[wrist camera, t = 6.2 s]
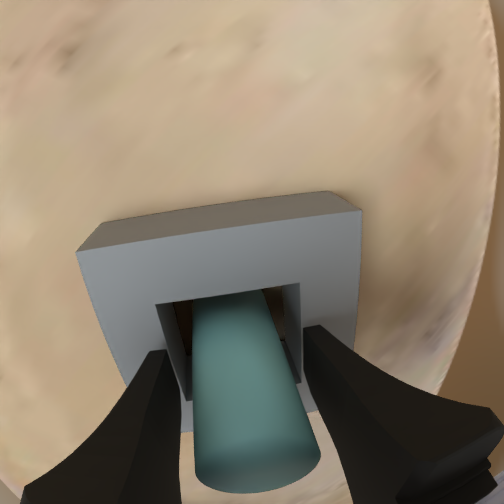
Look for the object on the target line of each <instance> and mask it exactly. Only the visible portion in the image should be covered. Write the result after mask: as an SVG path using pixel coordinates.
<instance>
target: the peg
mask: <svg viewBox="0 0 504 504" xmlns="http://www.w3.org/2000/svg"><path fill="white" fill-rule="evenodd" d="M192 393H193V433H194V457H195V474H196V477H197V478H198V480H199V481H200V482H201V483H203V484H204V485H206V486H208V487H210V488H212V489H215V490H219V491H223V492H228V493H258V492H265V491H270V490H274V489H278V488H281V487H284V486H286V485H289V484H291V483H294V482H296V481H298V480H299V479H301V478H303V477H304V476H306V475H307V474H308V473H310V472H311V471H312V470H313V469H314V468H315V467H316V465H317V464H318V462H319V460H320V457H321V453H320V449H319V446H318V444H317V441H316V438H315V435H314V433H313V430H312V427H311V424H310V422H309V419H308V416H307V413H306V410H305V408H304V405H303V402H302V399H301V397H300V394H299V391H298V388H297V386H296V383H295V380H294V377H293V375H292V372H291V369H290V366H289V363H288V361H287V358H286V355H285V352H284V350H283V347H282V344H281V341H280V339H279V336H278V333H277V330H276V327H275V325H274V322H273V319H272V316H271V313H270V311H269V308H268V305H267V302H266V300H265V297H264V294H263V292H262V290H261V289H257V290H250V291H244V292H238V293H231V294H224V295H218V296H211V297H204V298H197V299H194V301H193V320H192Z"/></svg>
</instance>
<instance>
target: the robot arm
mask: <svg viewBox="0 0 504 504" xmlns="http://www.w3.org/2000/svg"><path fill="white" fill-rule="evenodd" d="M303 371H304V374H305V377H306V380H307V384H308V387H309V390H310V393H311V395H312V397H313V400H314V402H315V404H316V406H317V408H318V410H319V412H320V415H321V417H322V419H323V421H324V423H325V425H326V427H327V429H328V431H329V433H330V436H331V438H332V440H333V442H334V445H335V447H336V449H337V452H338V455H339V458H340V461H341V464H342V467H343V470H344V473H345V477H346V480H347V483H348V486H349V490H350V493H351V497H352V500H353V504H504V470H503V471H502V472H501V473H499V474H498V475H497V476H495V477H494V478H493V476H492V475H491V473H490V472H489V470H488V469H489V468H490V467H491V463H490V462H489V460H488V459H487V457H488V456H489V455H490V454H491V452H492V451H493V450H494V448H495V447H496V446H497V444H498V443H499V442H500V440H501V439H502V437H503V435H504V425H503V424H502V423H501V421H500V420H499V419H498V418H497V416H496V415H495V414H494V413H493V412H492V410H491V409H490V408H487V407H482V406H476V405H470V404H465V403H460V402H457V401H453V400H449V399H445V398H442V397H439V396H436V395H433V394H430V393H428V392H425V391H423V390H420V389H418V388H415V387H413V386H411V385H409V384H406V383H404V382H402V381H400V380H398V379H396V378H395V377H393V376H391V375H389V374H387V373H385V372H384V371H382V370H380V369H379V368H377V367H376V366H374V365H372V364H371V363H369V362H368V361H366V360H365V359H364V358H362V357H361V356H359V355H358V354H357V353H355V352H354V351H353V350H351V349H350V348H349V347H347V346H346V345H345V344H344V343H342V342H341V341H340V340H339V339H337V338H336V337H335V336H334V335H332V334H331V333H330V332H329V331H328V330H326V329H325V328H324V327H323V326H321V325H320V324H319V325H314V326H309V327H304V328H303ZM181 418H182V410H181V394H180V387H179V385H178V382H177V379H176V376H175V373H174V370H173V367H172V364H171V361H170V358H169V355H168V352H167V349H162V350H153V351H149V352H148V354H147V355H146V357H145V359H144V361H143V362H142V364H141V366H140V367H139V369H138V371H137V372H136V374H135V376H134V377H133V379H132V381H131V382H130V384H129V385H128V387H127V388H126V390H125V392H124V393H123V395H122V396H121V398H120V399H119V400H118V402H117V403H116V405H115V406H114V407H113V409H112V410H111V411H110V413H109V414H108V415H107V417H106V418H105V419H104V420H103V422H102V423H101V424H100V425H99V426H98V428H97V429H96V430H95V431H94V432H93V433H92V434H91V435H90V436H89V437H88V438H87V439H86V440H85V441H84V442H83V443H82V444H81V445H80V446H79V447H78V448H77V449H76V450H75V451H74V452H73V453H72V454H70V455H69V456H68V457H67V458H66V459H64V460H63V461H62V462H61V463H59V464H58V465H57V466H55V467H54V468H53V469H51V470H50V471H49V472H47V473H46V474H44V475H42V476H41V477H39V478H38V479H36V480H34V481H33V482H31V483H30V484H28V485H26V486H25V487H24V490H23V494H22V498H21V502H20V504H182V502H181V492H180V481H179V455H180V436H181Z"/></svg>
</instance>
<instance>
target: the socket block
mask: <svg viewBox="0 0 504 504" xmlns="http://www.w3.org/2000/svg"><path fill="white" fill-rule="evenodd" d="M361 239H362V210H361V209H359V208H357V207H356V206H354V205H352V204H351V203H349V202H347V201H346V200H344V199H342V198H340V197H339V196H337V195H335V194H334V193H332V192H330V191H321V192H312V193H303V194H294V195H285V196H277V197H268V198H260V199H253V200H245V201H237V202H230V203H223V204H216V205H209V206H202V207H195V208H189V209H182V210H176V211H170V212H164V213H158V214H152V215H146V216H140V217H134V218H128V219H123V220H117V221H112V222H106V223H101V224H100V225H99V226H98V227H97V228H96V229H95V231H94V232H93V233H92V234H91V235H90V236H89V237H88V238H87V239H86V241H85V242H84V243H83V244H82V245H81V246H80V247H79V249H78V250H77V251H76V252H75V253H76V256H77V260H78V263H79V266H80V269H81V272H82V276H83V279H84V282H85V285H86V288H87V291H88V294H89V296H90V299H91V302H92V305H93V308H94V310H95V313H96V316H97V318H98V321H99V324H100V326H101V329H102V331H103V334H104V336H105V339H106V341H107V344H108V346H109V348H110V351H111V353H112V355H113V358H114V360H115V362H116V365H117V367H118V369H119V371H120V373H121V376H122V378H123V380H124V382H125V384H126V386H127V387H128V385H129V384H130V382H131V381H132V379H133V377H134V376H135V374H136V372H137V371H138V369H139V367H140V366H141V364H142V362H143V361H144V359H145V357H146V355H147V354H148V352H149V351H153V350H162V349H167V352H168V355H169V358H170V361H171V364H172V367H173V370H174V373H175V376H176V379H177V382H178V385H179V387H180V394H181V410H182V418H181V433H182V432H193V393H192V355H189V356H187V355H186V352H185V348H184V345H183V341H182V338H181V334H180V330H179V327H178V323H177V319H176V315H175V311H174V307H173V303H172V302H176V301H183V300H190V299H197V298H204V297H211V296H218V295H224V294H231V293H238V292H244V291H250V290H257V289H263V288H269V287H275V286H281V285H282V292H283V309H284V327H285V340H284V341H281V344H282V347H283V350H284V352H285V355H286V358H287V361H288V363H289V366H290V369H291V372H292V375H293V377H294V380H295V383H296V386H297V388H298V391H299V394H300V397H301V399H302V402H303V405H304V408H305V410H306V413H308V412H313V411H317V410H318V408H317V406H316V404H315V402H314V400H313V397H312V395H311V393H310V390H309V387H308V384H307V380H306V377H305V374H304V371H303V328H304V327H309V326H314V325H319V324H320V325H321V326H323V327H324V328H325V329H326V330H328V331H329V332H330V333H331V334H332V335H334V336H335V337H336V338H337V339H339V340H340V341H341V342H342V343H344V344H345V345H346V346H347V347H349V348H350V349H351V350H353V349H354V340H355V331H356V320H357V309H358V296H359V282H360V264H361Z"/></svg>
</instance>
